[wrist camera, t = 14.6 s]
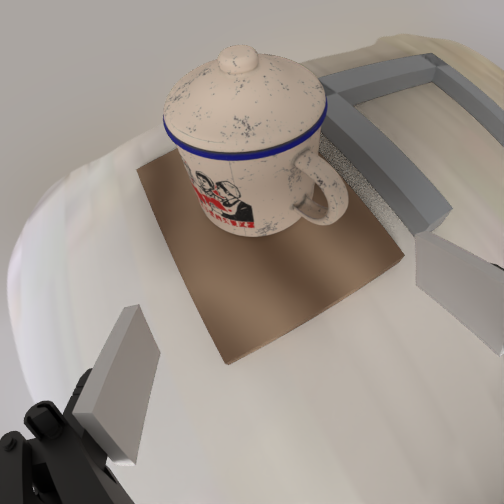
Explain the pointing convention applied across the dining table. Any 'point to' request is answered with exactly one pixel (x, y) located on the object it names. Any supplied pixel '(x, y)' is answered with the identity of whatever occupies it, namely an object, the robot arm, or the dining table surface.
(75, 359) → the dining table surface
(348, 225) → the walnut board
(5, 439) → the robot arm
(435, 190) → the cup dock
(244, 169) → the teacup with lid
